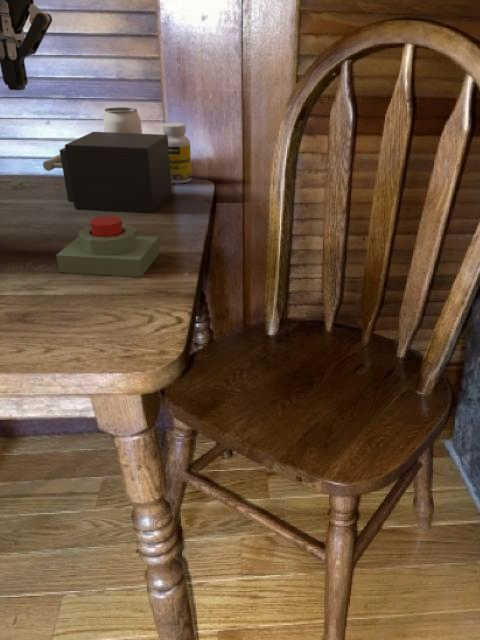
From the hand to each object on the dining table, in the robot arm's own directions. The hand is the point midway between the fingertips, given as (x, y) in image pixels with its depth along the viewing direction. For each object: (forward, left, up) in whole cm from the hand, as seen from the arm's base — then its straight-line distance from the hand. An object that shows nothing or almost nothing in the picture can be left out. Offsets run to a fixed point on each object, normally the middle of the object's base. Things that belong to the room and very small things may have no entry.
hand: (17, 89), depth 81 cm
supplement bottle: (+17, +21, -17) cm, 32 cm away
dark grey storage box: (+12, +6, -17) cm, 21 cm away
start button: (+19, -21, -13) cm, 31 cm away
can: (+8, +20, -17) cm, 28 cm away
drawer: (+8, +6, -16) cm, 19 cm away
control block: (+19, -21, -17) cm, 33 cm away
